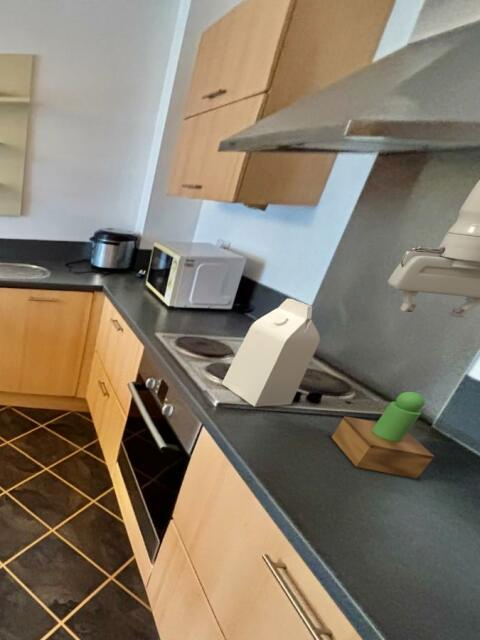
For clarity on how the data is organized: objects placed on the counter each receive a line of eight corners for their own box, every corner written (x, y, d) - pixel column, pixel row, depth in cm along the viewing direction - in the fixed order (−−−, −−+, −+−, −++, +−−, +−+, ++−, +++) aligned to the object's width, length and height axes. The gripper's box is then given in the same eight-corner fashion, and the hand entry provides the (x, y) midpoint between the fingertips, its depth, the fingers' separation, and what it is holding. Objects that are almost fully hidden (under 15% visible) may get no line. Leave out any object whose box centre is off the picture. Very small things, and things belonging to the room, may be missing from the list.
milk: (290, 404, 109) (341, 311, 96) (254, 406, 107) (301, 311, 94) (255, 381, 120) (297, 294, 107) (221, 383, 117) (260, 294, 104)
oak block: (385, 447, 95) (400, 426, 92) (416, 478, 86) (434, 456, 83) (331, 437, 97) (344, 416, 94) (355, 466, 88) (371, 444, 85)
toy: (392, 430, 90) (422, 389, 85) (406, 443, 86) (438, 401, 81) (367, 426, 91) (395, 385, 86) (379, 439, 87) (409, 396, 82)
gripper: (419, 247, 86) (385, 311, 92) (543, 257, 81) (497, 324, 88) (400, 243, 91) (368, 304, 97) (515, 252, 87) (474, 315, 93)
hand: (430, 313), depth 93 cm, fingers open, 8 cm apart
